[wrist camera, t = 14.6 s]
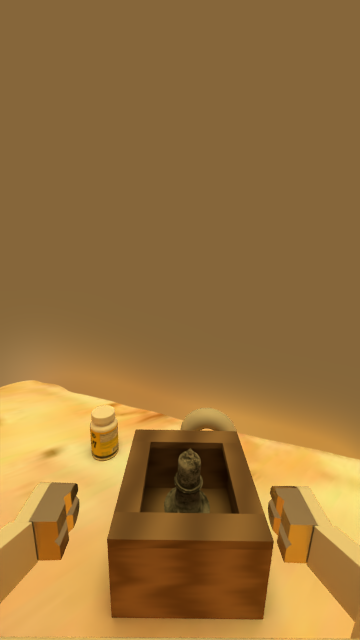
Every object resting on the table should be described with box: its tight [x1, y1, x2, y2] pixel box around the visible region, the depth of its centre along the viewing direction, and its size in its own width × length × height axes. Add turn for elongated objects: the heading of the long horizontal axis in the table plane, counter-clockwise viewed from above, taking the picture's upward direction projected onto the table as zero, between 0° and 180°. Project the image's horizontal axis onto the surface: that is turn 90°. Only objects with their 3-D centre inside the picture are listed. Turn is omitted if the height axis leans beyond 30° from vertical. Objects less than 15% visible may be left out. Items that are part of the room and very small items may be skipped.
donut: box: [181, 408, 237, 432], centre depth 44 cm, size 10×4×10 cm, turn 80°
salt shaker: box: [164, 448, 210, 513], centre depth 31 cm, size 6×6×12 cm
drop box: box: [107, 430, 274, 619], centre depth 31 cm, size 15×15×10 cm
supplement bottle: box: [90, 405, 118, 460], centre depth 45 cm, size 5×5×8 cm
